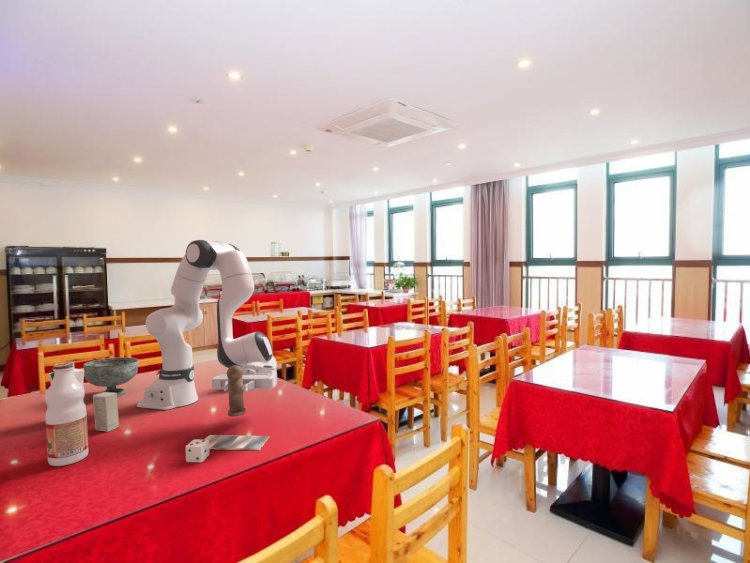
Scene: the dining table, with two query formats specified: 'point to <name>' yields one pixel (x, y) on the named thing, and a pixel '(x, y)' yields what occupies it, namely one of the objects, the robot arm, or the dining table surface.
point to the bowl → (111, 372)
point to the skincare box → (106, 411)
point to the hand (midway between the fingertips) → (234, 388)
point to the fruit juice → (66, 417)
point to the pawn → (235, 391)
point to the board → (236, 442)
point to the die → (197, 450)
